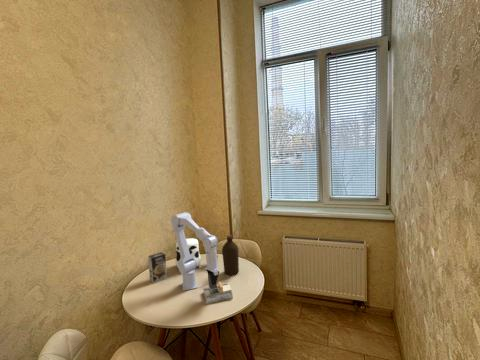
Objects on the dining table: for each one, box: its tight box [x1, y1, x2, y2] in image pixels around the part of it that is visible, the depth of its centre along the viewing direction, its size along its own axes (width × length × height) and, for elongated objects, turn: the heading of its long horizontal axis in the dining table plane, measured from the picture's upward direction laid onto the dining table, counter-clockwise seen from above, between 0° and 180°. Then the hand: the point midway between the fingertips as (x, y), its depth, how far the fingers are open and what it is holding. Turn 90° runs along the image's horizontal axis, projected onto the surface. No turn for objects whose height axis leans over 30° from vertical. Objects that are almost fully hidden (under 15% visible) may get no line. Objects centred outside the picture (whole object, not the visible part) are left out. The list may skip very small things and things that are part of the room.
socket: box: [202, 283, 234, 305], centre depth 139 cm, size 12×14×3 cm
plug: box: [207, 273, 218, 289], centre depth 138 cm, size 4×4×8 cm
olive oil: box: [221, 234, 240, 277], centre depth 165 cm, size 11×11×25 cm
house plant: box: [204, 243, 223, 262], centre depth 179 cm, size 14×14×16 cm
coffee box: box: [147, 252, 168, 284], centre depth 162 cm, size 9×6×16 cm
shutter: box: [218, 281, 233, 293], centre depth 140 cm, size 6×6×3 cm
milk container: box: [175, 238, 202, 269], centre depth 179 cm, size 17×17×18 cm
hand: (213, 282), depth 138 cm, fingers closed on plug, 3 cm apart
